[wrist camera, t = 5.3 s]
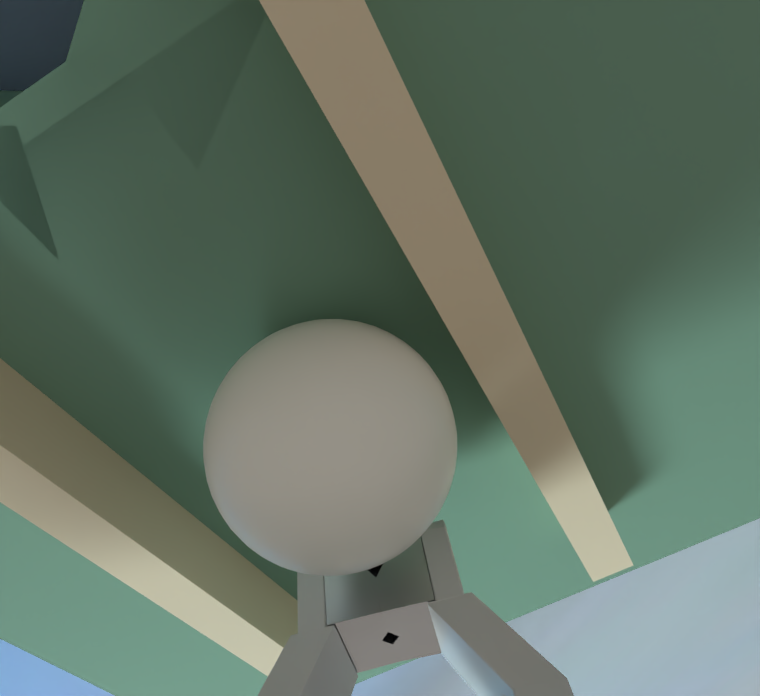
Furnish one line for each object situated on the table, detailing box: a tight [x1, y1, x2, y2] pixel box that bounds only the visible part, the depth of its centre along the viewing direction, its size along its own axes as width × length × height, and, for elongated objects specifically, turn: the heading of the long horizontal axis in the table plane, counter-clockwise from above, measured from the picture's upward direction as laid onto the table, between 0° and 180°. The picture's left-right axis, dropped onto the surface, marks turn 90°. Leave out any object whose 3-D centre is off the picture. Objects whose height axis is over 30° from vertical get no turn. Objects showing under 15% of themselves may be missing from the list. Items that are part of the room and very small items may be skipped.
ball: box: [203, 319, 457, 576], centre depth 9 cm, size 4×4×4 cm
